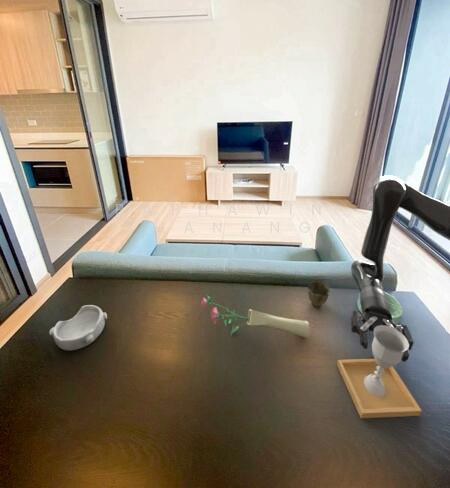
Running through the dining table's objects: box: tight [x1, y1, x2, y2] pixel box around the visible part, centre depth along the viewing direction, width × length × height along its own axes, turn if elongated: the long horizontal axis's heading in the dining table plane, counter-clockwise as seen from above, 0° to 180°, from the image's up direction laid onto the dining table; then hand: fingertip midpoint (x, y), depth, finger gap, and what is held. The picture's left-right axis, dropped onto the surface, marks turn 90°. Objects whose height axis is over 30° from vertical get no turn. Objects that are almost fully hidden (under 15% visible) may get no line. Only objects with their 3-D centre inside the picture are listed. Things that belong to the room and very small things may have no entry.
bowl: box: [356, 291, 404, 325], centre depth 87 cm, size 13×13×4 cm
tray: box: [336, 358, 423, 419], centre depth 65 cm, size 15×13×2 cm
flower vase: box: [200, 292, 311, 339], centre depth 80 cm, size 12×12×35 cm
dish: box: [49, 304, 108, 351], centre depth 79 cm, size 14×14×5 cm
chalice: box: [364, 325, 409, 397], centre depth 62 cm, size 7×7×18 cm
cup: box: [307, 279, 331, 308], centre depth 90 cm, size 8×7×8 cm
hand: (384, 352), depth 62 cm, fingers open, 8 cm apart
